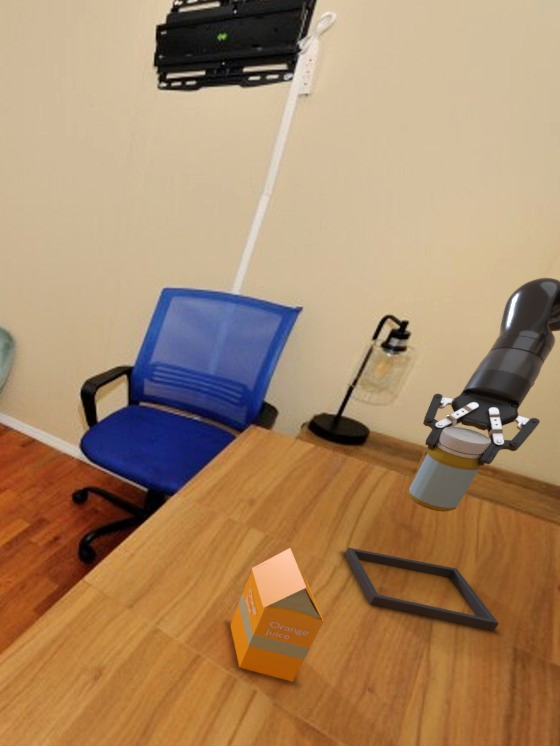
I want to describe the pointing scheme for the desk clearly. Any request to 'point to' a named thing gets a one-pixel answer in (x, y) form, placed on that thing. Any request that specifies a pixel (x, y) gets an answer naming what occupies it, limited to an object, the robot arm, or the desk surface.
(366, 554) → the dark rectangular frame
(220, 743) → the desk surface
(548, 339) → the robot arm
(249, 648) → the orange juice
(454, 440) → the bottle
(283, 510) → the desk surface
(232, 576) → the desk surface
